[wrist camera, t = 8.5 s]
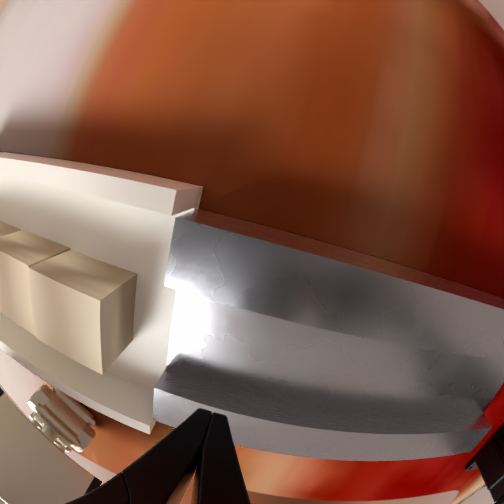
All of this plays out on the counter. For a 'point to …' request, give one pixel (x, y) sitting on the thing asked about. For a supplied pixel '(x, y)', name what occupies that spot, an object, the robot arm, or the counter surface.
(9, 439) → the pneumatic valve
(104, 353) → the block
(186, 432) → the robot arm
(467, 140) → the counter surface
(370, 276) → the slot rail
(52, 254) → the block
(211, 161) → the counter surface
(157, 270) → the tray
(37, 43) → the counter surface
